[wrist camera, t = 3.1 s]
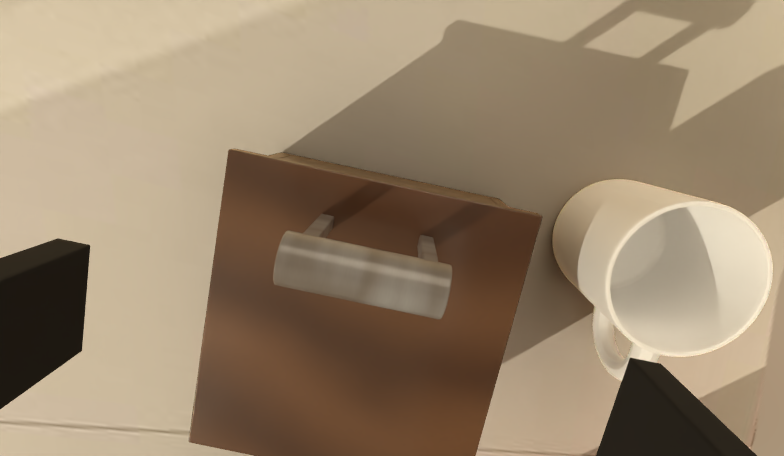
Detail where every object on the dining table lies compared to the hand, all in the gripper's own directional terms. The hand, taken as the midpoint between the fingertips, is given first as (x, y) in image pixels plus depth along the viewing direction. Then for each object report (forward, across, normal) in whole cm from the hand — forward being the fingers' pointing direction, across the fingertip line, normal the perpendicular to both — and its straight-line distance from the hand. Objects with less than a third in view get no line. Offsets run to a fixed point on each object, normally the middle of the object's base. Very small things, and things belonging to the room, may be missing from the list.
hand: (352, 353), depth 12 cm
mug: (+24, +16, -1) cm, 29 cm away
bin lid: (+14, 0, -6) cm, 15 cm away
